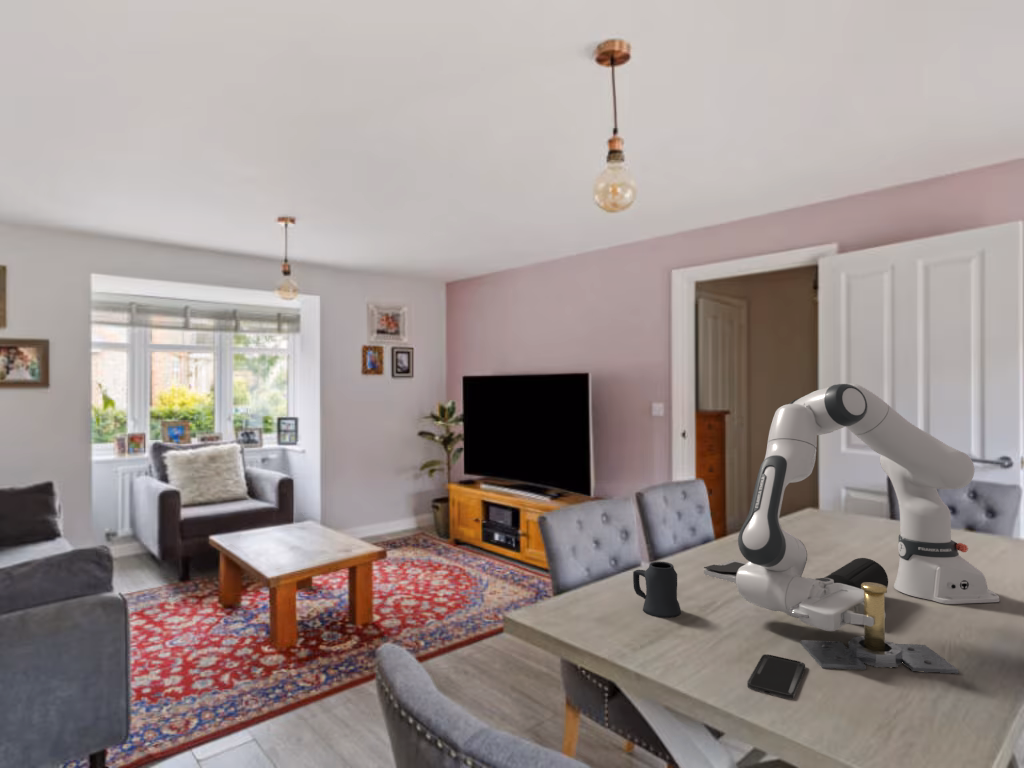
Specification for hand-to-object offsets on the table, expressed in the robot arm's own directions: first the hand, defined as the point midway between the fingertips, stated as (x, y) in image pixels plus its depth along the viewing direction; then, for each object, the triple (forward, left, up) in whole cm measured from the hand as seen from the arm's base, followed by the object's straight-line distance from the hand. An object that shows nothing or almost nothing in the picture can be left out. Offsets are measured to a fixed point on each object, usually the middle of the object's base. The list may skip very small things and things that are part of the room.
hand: (879, 618), depth 119 cm
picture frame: (+11, -51, -9) cm, 53 cm away
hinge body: (+1, -1, -8) cm, 8 cm away
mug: (+41, -24, -8) cm, 48 cm away
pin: (+1, -1, -6) cm, 7 cm away
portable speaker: (-8, -30, -8) cm, 32 cm away
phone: (+23, +9, -9) cm, 26 cm away
